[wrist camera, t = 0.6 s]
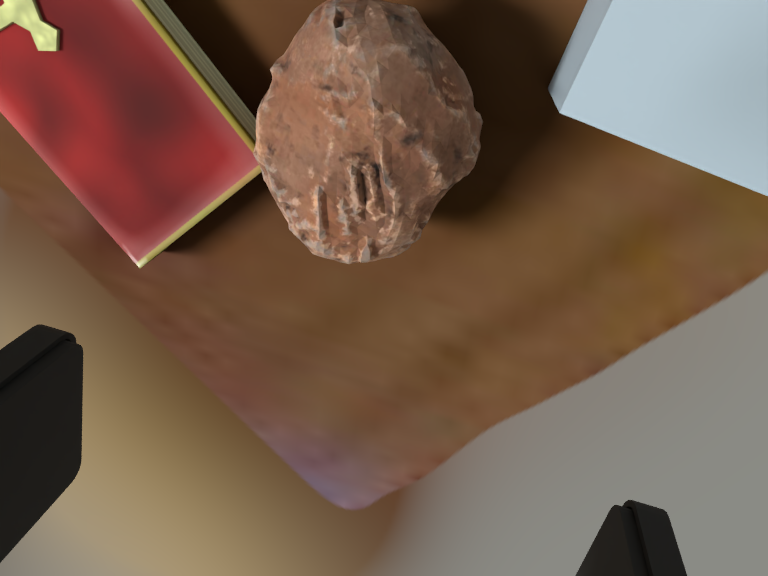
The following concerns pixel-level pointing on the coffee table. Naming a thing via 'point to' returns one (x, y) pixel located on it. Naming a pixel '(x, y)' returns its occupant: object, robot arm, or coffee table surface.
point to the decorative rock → (364, 129)
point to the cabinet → (674, 80)
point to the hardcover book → (125, 114)
